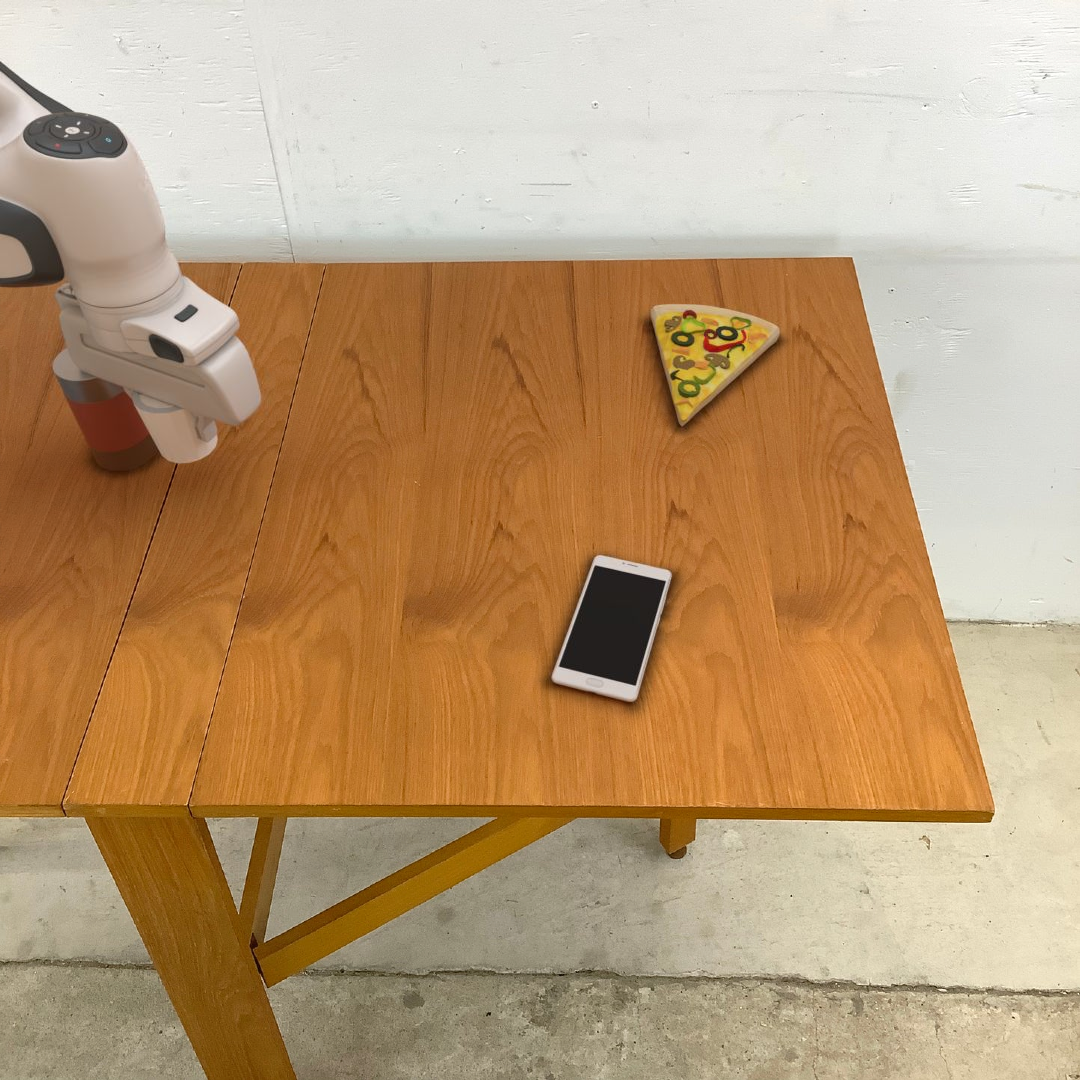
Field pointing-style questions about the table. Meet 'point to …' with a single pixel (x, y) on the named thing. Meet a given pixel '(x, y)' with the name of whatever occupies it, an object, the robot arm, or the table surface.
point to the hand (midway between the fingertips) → (182, 427)
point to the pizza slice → (706, 350)
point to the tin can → (105, 417)
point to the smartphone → (613, 628)
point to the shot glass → (172, 429)
